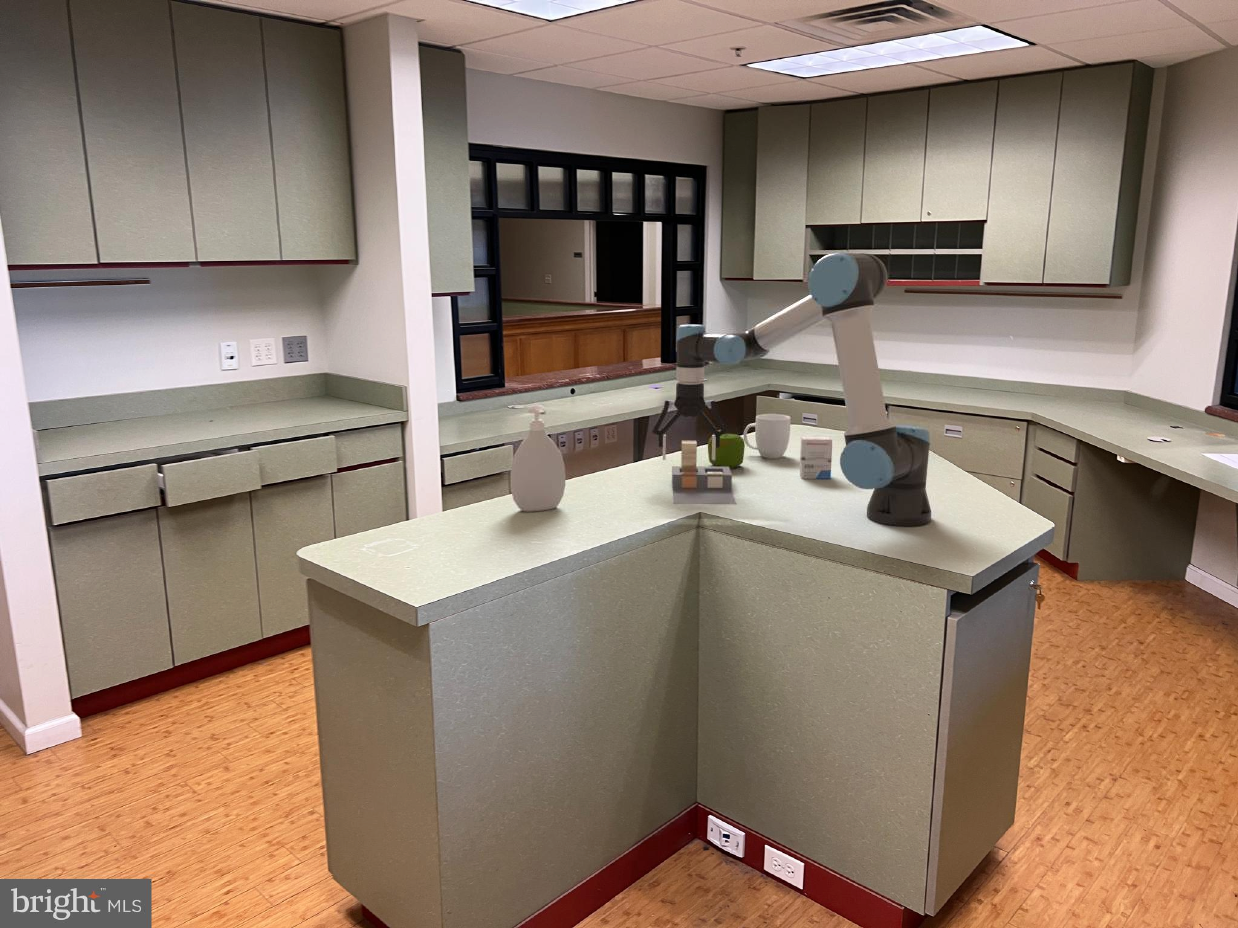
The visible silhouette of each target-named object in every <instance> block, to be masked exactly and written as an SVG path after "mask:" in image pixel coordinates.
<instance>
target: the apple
mask: <svg viewBox="0 0 1238 928" xmlns="http://www.w3.org/2000/svg"><path fill="white" fill-rule="evenodd" d="M745 444H746V443H745V441H744V437H742V436H741V435H739V434H735V433H734V434H733V433H728V432H727V433H726V434H723V435H721V436H720V446H719V448H716V451H715V460H712V436H711V437H710V438H709V439H708V441H707V454H708V455H707V456H708V461H709V463H710V464H711V465H712V466H713V467H729V468H730V470H731V469H736V468H737V467H738V466H740V465H742V464H743V461H744V459H745V458H744V456H745V447H746V445H745Z"/></svg>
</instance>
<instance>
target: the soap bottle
mask: <svg viewBox="0 0 1238 928" xmlns="http://www.w3.org/2000/svg"><path fill="white" fill-rule="evenodd" d="M526 412H527V413H528V414H534V419H533V418H532V419H531V420H530V422H529V433H528V434H527V435H526V436H525V438H524V439H523V440H522V441H521V443H520V445H519V446H518V448H517V450H516V452H515V453H514V455H513V457H512V458H513V459H512V463H511V468H510V476H509V477H510V480H509V482H510V492H511V495H512V500H513V502H514V503H515V504H516V506H517V508H518V509H519V510H520V511H522V512H525V513H526V512H527V513H528V512H529V513H532V512H542V511H543V512H544V511H548V510H549V511H550V510H554V509H555V508H557V507H558V506H559V504H560V503H561V501H562V498H563V497H564V494H565V489H566V488H565V487H566V468H565V462H564V459H563V455H562V452H561V451H560V449H559V448H558V446H557V444H556V443H555V442H554V441H553V439H551V438H550V436H548V435H547V433H546V430H545V421H544V420H543V419H542V418H540V415H541V416H542V415H547V414H546V413H547V409H546V407H545V406H544V405H541V404H538V403H537V404H532V405H530V406H529V407H528V408H527V409H526Z"/></svg>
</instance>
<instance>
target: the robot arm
mask: <svg viewBox="0 0 1238 928" xmlns="http://www.w3.org/2000/svg"><path fill="white" fill-rule="evenodd" d="M807 280H808V282H807V283H808V285H807V287H808V288H807V289H808V292H809V295H808V296H806V297H804V298H802V299H800V300H798V301H797V302H795V303H793V304H792V305H789V306H788V307H785V308H784V309H783V310H781V311H779V312H777V313H775V314H774V315H772V316H770V317H769V318H766V319H765V320H763V321H762V322H760V323H757V325H754V326H753V327H751V328H749V329H748V330H746V331H739V332H731V333H730V332H729V333H728V332H727V333H708V332H706V327H705V325H704V324H694V323H693V324H686V323H685V324H680V325H679V326H678V327H677V332H676V334H677V335H676V340H675V342H676V372H675V373H676V376H675V377H676V380H675V381H677V383H676V384H675V385H676V386H675V399H674V400H670V399H668V398H666V399H665V400H664V402H663V403H664V404H663V408H662V409H661V412H660V414H659V416H658V417H657V419H656V421H655V424H654V425H653V428H652V429H651V430H652V432H651V433H652V434H653V435H657V436H658V447H659V448H662V460H663V461H666V453H667V452H666V451H667V449H666V447H667V444H666V443H667V440H666V439H667V435H666V432H667V431H668V430H669V429H670V428H671V427H672V426H673V425H674V423H675V422H676V421H677V420H678V419H679V418H680V417H681V416H682V417H685V418H688V417H692V418H696V417H698V416H699V418H700V419H702V420H703V422H704V423H705V424H706V425H707V427H708V428H709V429H710V430H711V432H712V433H713V434H712V435H711V437H712V460H715V451H716V448H719V446H720V436H721V435H723V434H726V433H727V434H728V432H727V429H726V427H725V425H724V422H723V420H722V419H721V415H719V413H718V410H717V408H716V407H717V406H716V401H715V399H711V400H705V384H704V381H705V365H706V364H705V362H706V363H715V364H722V365H725V366H726V365H737V364H739V363H740V362H741V361H750V360H758V359H761V358H764V357H766V356H767V355H768V354H769V352H770V351H771V350H772V349H774V348H776V347H778V346H780V345H782V344H785V343H786V342H787V341H790V340H791V339H793V338H795V337H797V336H799V335H801V334H802V333H805V332H806V331H808V330H810V329H813V328H814V327H816V326H818V325H820V324H821V323H823V322H825V321H827V322H828V323H830V326H831V330H832V335H833V341H834V342H833V343H834V347H835V348H834V349H835V354H836V359H837V364H838V371H839V375H840V380H841V387H842V391H843V392H842V393H843V396H844V403H845V408H846V414H847V420H848V427H847V429H846V430H845V432H844V433H843V436H844V442H845V446H844V448H843V450H842V452H841V453H840V457H839V464H840V465H839V466H840V470H841V472H842V474H843V476H844V477H845V479H846V480H847V481H848V482H849V483H851V484H852V485H854V486H855V487H856V488H859V489H861V490H873V491H872V494H871V496H870V498H869V501H868V503H867V505H866V517H867V518H868V519H869V520H871V521H874V522H877V523H880V524H883V525H891V526H896V527H917V526H924V525H928V524H929V523H931V521H932V508H931V504H930V501H929V497H928V494H927V493H928V492H927V478H928V477H927V475H928V466H929V465H928V464H929V456H930V454H929V453H930V445H931V441H930V435H931V434H930V432H929V430H928V429H927V428H925V427H920V426H913V425H906V424H905V425H904V424H895V423H894V422H892V421H891V420H890V419H889V418H888V416H887V409H886V404H885V398H884V393H883V387H882V381H881V375H880V370H879V365H878V357H877V352H876V348H875V342H874V336H873V330H872V325H871V319H870V315H871V313H872V311H873V310H874V309H875V307H876V306H875V302H874V301H875V300H877V299H878V298H879V297H880V296H881V295H883V292H884V291H885V289H886V287H887V283H888V272H887V268H886V265H885V263H883V262H882V260H881V259H879V257H877V256H875V255H873V254H870V253H867V252H866V253H863V252H861V253H860V252H859V253H856V252H855V253H854V252H843V251H841V252H836V253H835V252H834V253H830V254H827V255H824V256H823V257H821V258H820V259H819V260H817V262H816V263H814V265H813V268H812V269H811V270H810V272H809V276H808V279H807ZM672 406H674V407H675V408H676V411H675V412H674V414H673V415H672V416H671V417H670V418H669V419H668V421H667V422H666V423H665V424H664V425H663V426H662V427H661V425H662V423H663V420H664V419H665V418H666V415H667V413H668V411H669V409H671V408H672ZM705 406H707V408H709V409H711V412H712V414H713V416H714V418H715V421H716V423H717V424H718V426H719V428H720V429H719V430H718V428H717V427H716V426H715V425H714V423H713V422H712V421H711V419H709V418H708V416H707V415H706V414H705V413H704V411H703V409H704V408H705ZM660 427H661V428H660Z"/></svg>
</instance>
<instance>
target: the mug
mask: <svg viewBox="0 0 1238 928" xmlns="http://www.w3.org/2000/svg"><path fill="white" fill-rule="evenodd" d="M751 427H753V428H755V430H754V431H755V444H756V445H753V444H751V443H750V442H749V440H748V435H747V434H748V431H749V429H750V428H751ZM790 435H791V416H790V415H786V414H780V413H779V414H778V413H777V414H776V413H765V414H757V415H756V416H755V422H754V423H749V424H748V425H747V426H746V427H745V429H744V431H743V439H744V444H746V445H745V446H747V447H749V449H752V450H754V451H755V450H756V451H758V453H759V455H760V456H761V457H762V458H764V459H769V460H770V459H774V460H775V459H781V458H782V457H783V456H784V455H785V453H786V451H787V448H788V446H789V442H790Z"/></svg>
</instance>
